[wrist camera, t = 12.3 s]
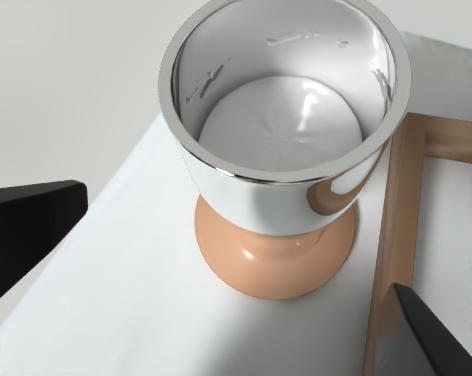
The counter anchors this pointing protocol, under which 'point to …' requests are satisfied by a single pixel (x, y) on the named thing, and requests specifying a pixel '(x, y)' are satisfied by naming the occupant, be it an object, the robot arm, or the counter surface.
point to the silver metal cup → (283, 112)
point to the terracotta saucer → (265, 273)
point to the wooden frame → (408, 203)
